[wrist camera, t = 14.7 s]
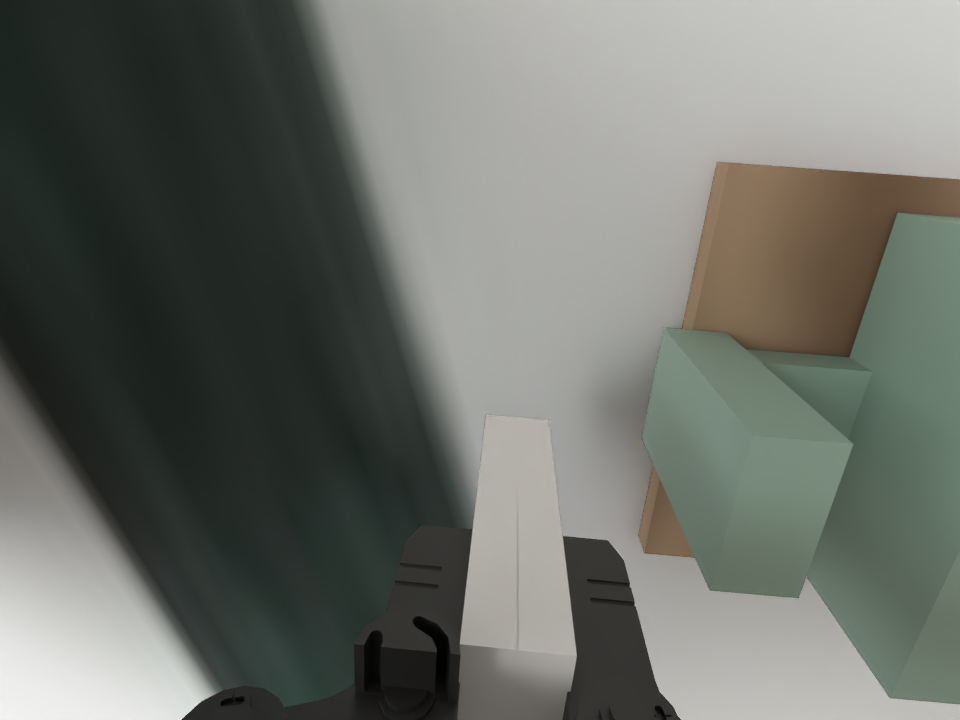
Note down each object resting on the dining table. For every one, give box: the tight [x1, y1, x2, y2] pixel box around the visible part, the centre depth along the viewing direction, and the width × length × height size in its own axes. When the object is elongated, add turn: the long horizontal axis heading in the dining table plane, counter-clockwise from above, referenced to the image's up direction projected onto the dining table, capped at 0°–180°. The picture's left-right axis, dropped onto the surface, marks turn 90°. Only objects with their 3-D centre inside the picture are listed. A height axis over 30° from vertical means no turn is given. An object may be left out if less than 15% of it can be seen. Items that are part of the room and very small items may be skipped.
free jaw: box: [642, 213, 960, 704], centre depth 15 cm, size 8×12×7 cm, turn 176°
